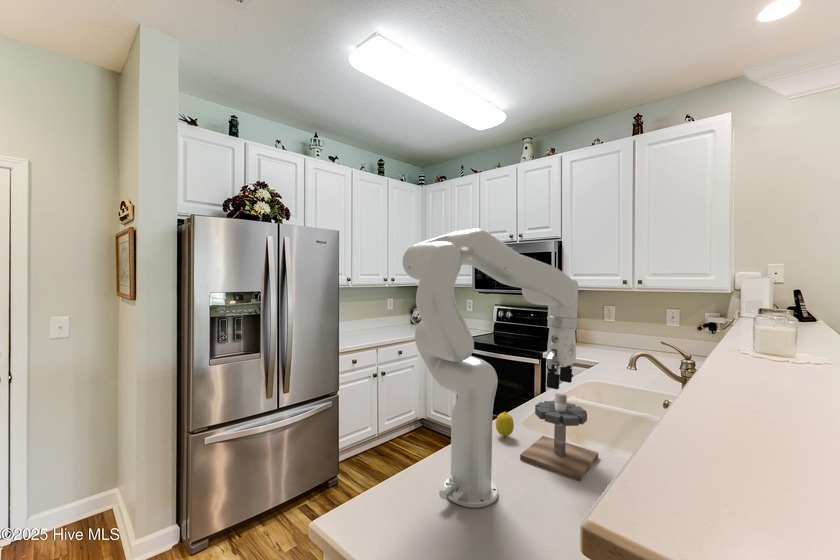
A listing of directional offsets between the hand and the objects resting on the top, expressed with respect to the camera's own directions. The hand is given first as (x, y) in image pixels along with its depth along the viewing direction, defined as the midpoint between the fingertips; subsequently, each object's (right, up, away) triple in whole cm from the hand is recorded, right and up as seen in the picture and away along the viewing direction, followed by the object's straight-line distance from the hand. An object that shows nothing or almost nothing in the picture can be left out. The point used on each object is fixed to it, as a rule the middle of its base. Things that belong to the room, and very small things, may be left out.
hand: (559, 384), depth 102 cm
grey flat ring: (0, -9, +1) cm, 9 cm away
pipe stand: (0, -21, +1) cm, 21 cm away
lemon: (-12, -21, +14) cm, 28 cm away
